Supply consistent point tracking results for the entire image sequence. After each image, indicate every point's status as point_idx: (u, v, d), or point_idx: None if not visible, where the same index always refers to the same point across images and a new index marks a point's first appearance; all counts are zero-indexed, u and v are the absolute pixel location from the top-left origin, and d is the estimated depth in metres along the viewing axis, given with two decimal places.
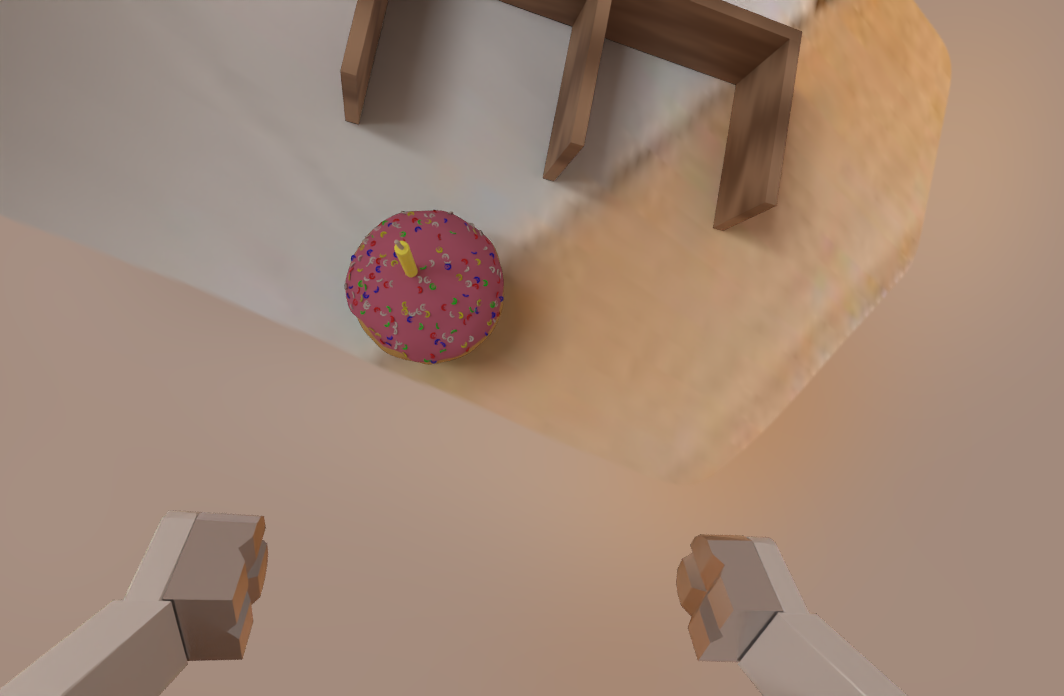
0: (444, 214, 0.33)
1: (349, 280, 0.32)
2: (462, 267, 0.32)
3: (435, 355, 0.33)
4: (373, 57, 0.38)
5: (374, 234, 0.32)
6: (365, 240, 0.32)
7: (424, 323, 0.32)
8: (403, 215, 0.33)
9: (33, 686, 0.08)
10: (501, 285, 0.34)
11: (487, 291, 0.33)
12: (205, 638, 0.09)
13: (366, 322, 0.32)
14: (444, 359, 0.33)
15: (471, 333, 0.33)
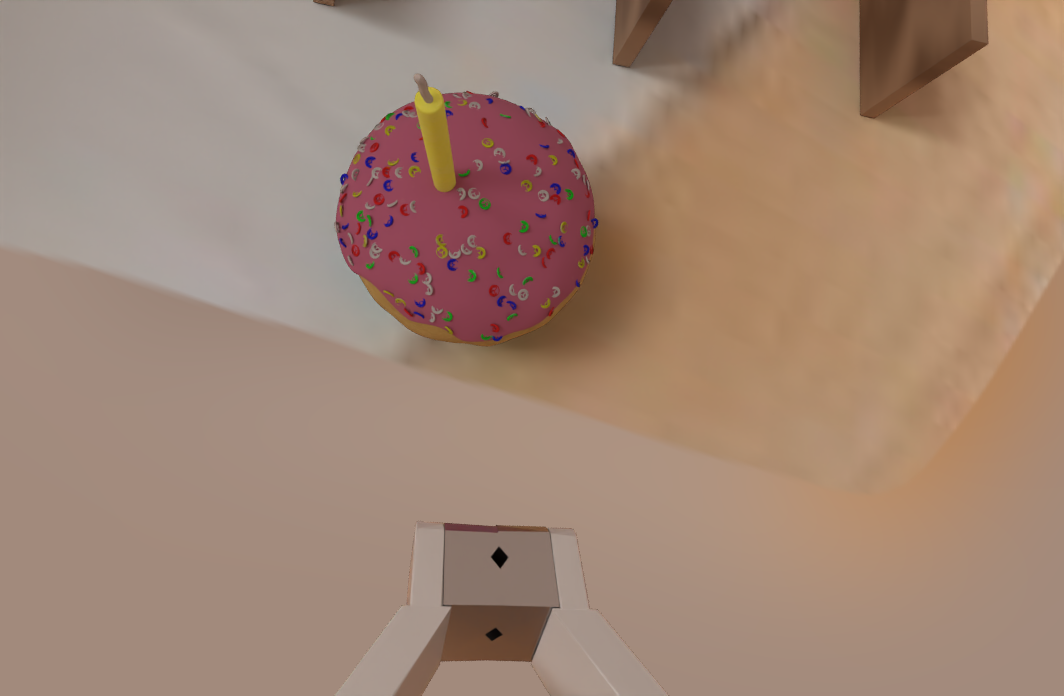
0: (485, 95, 0.20)
1: (341, 216, 0.19)
2: (530, 170, 0.19)
3: (499, 326, 0.19)
4: None
5: (375, 135, 0.19)
6: (361, 146, 0.19)
7: (478, 269, 0.18)
8: None
9: (368, 684, 0.08)
10: (591, 201, 0.20)
11: (573, 209, 0.19)
12: (463, 640, 0.10)
13: (378, 282, 0.19)
14: (514, 332, 0.20)
15: (555, 282, 0.20)
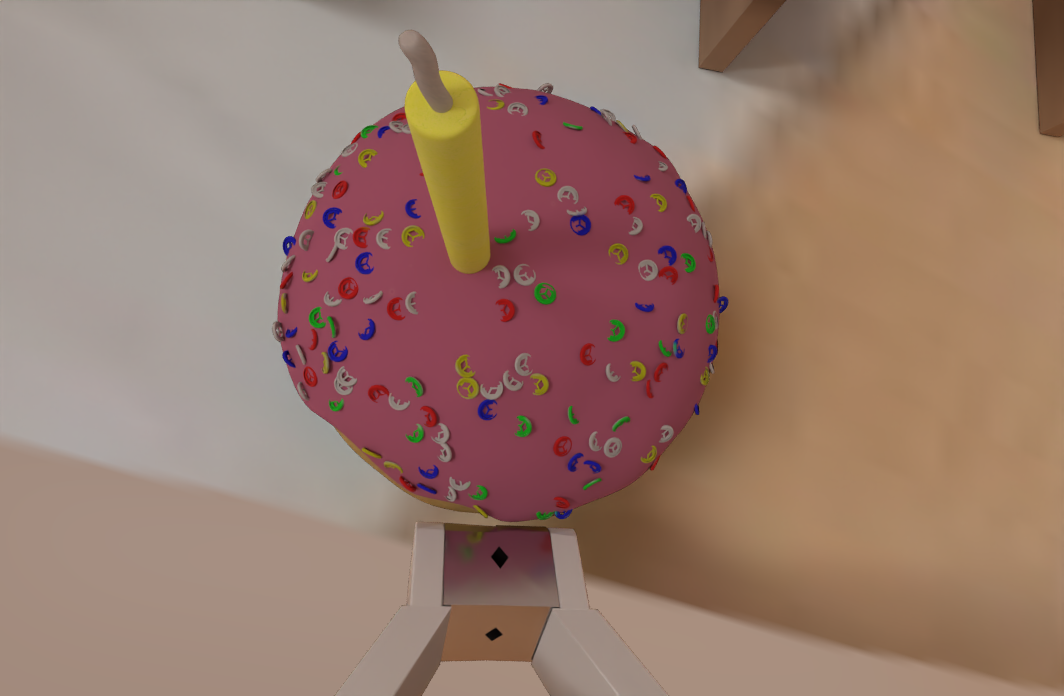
0: (532, 90, 0.12)
1: (285, 313, 0.11)
2: (622, 223, 0.10)
3: (568, 496, 0.11)
4: None
5: (342, 166, 0.11)
6: (318, 187, 0.11)
7: (534, 414, 0.10)
8: None
9: (368, 684, 0.08)
10: (715, 267, 0.12)
11: (696, 287, 0.11)
12: (463, 640, 0.10)
13: (352, 433, 0.10)
14: (591, 500, 0.11)
15: (663, 416, 0.11)
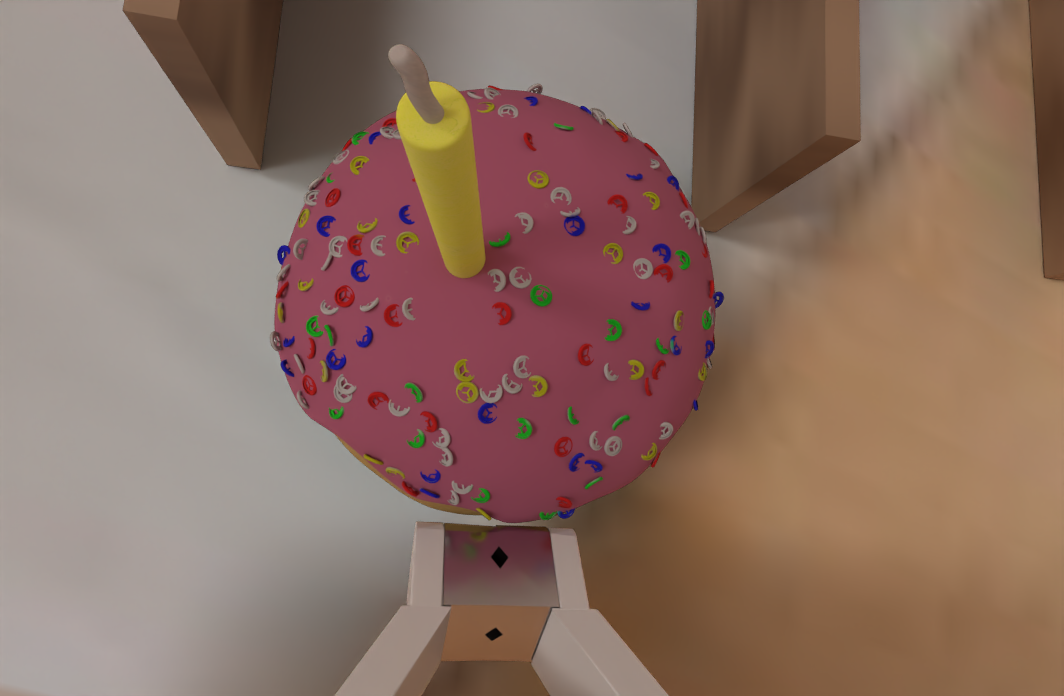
0: (522, 91, 0.12)
1: (282, 322, 0.11)
2: (615, 223, 0.10)
3: (570, 496, 0.11)
4: (275, 8, 0.16)
5: (335, 174, 0.11)
6: (310, 196, 0.11)
7: (534, 415, 0.10)
8: None
9: (368, 684, 0.08)
10: (710, 262, 0.12)
11: (691, 284, 0.11)
12: (463, 640, 0.10)
13: (353, 440, 0.10)
14: None
15: (663, 413, 0.11)
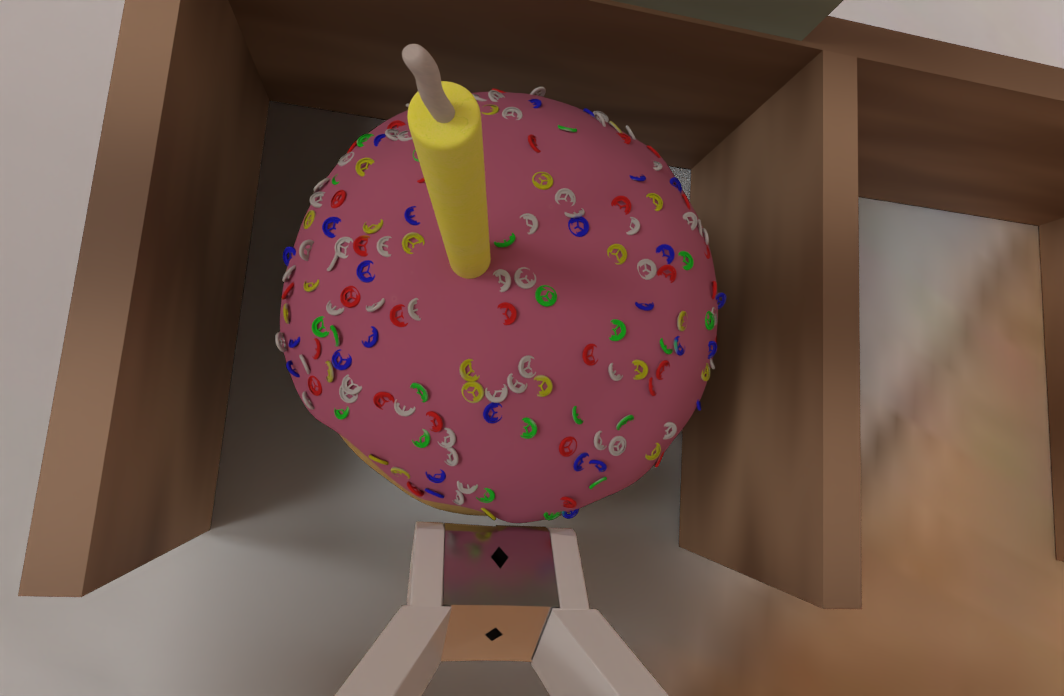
0: (526, 94, 0.12)
1: (287, 323, 0.11)
2: (618, 224, 0.11)
3: (575, 495, 0.11)
4: (227, 353, 0.15)
5: (339, 175, 0.11)
6: (316, 197, 0.11)
7: (539, 415, 0.10)
8: None
9: (368, 684, 0.08)
10: (712, 263, 0.12)
11: (694, 285, 0.11)
12: (463, 640, 0.10)
13: (358, 440, 0.10)
14: None
15: (667, 413, 0.11)
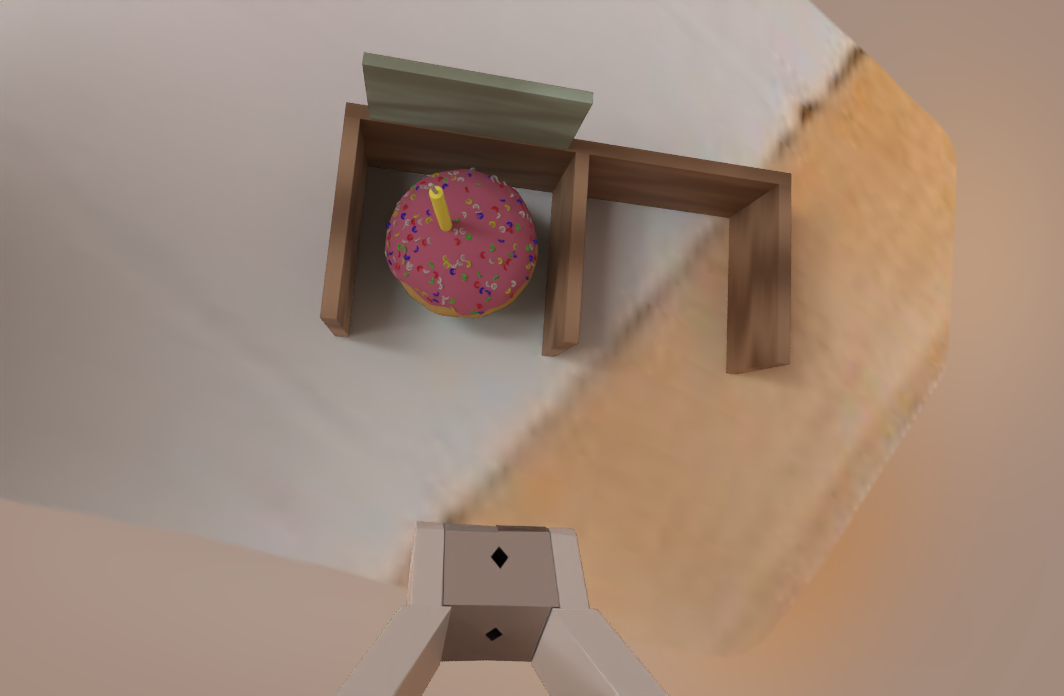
0: (467, 170, 0.34)
1: (388, 247, 0.33)
2: (494, 215, 0.33)
3: (482, 305, 0.34)
4: (355, 267, 0.37)
5: (405, 199, 0.33)
6: (397, 206, 0.33)
7: (467, 273, 0.32)
8: (429, 178, 0.34)
9: (368, 684, 0.08)
10: (533, 229, 0.35)
11: (521, 235, 0.33)
12: (463, 640, 0.10)
13: (411, 283, 0.33)
14: (491, 309, 0.34)
15: (512, 278, 0.34)
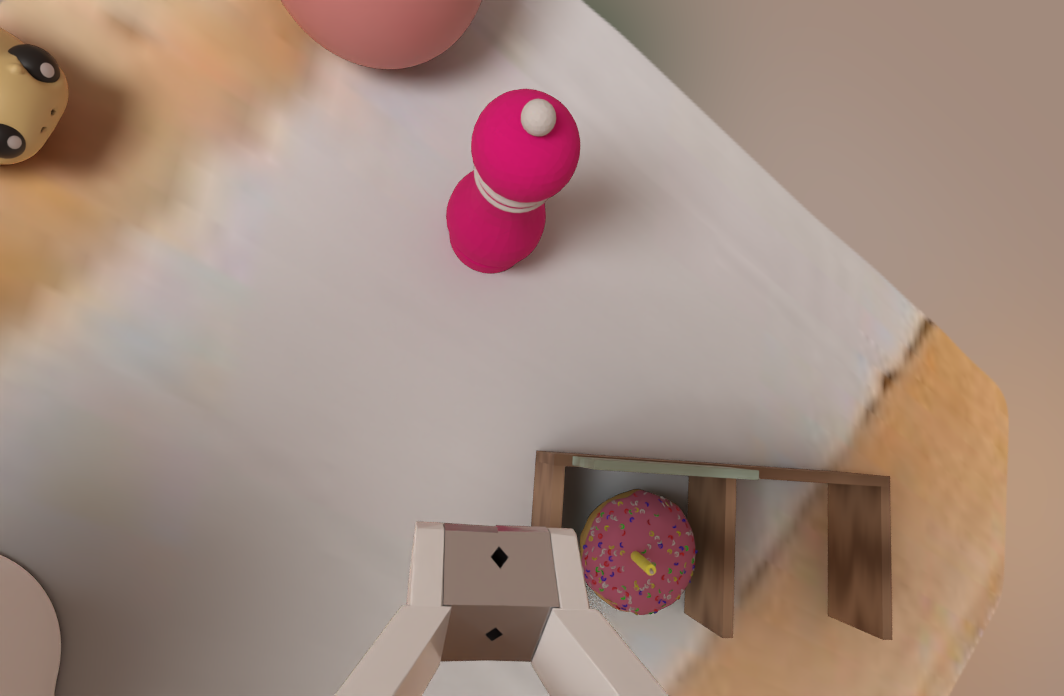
0: (643, 496, 0.43)
1: (585, 565, 0.42)
2: (669, 541, 0.42)
3: (657, 608, 0.43)
4: None
5: (598, 526, 0.42)
6: (592, 532, 0.42)
7: (651, 592, 0.41)
8: (615, 505, 0.43)
9: (368, 684, 0.08)
10: (694, 541, 0.44)
11: (688, 554, 0.43)
12: (463, 640, 0.10)
13: (605, 596, 0.42)
14: (662, 607, 0.43)
15: (681, 586, 0.43)
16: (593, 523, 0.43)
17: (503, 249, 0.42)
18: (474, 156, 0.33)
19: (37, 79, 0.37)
